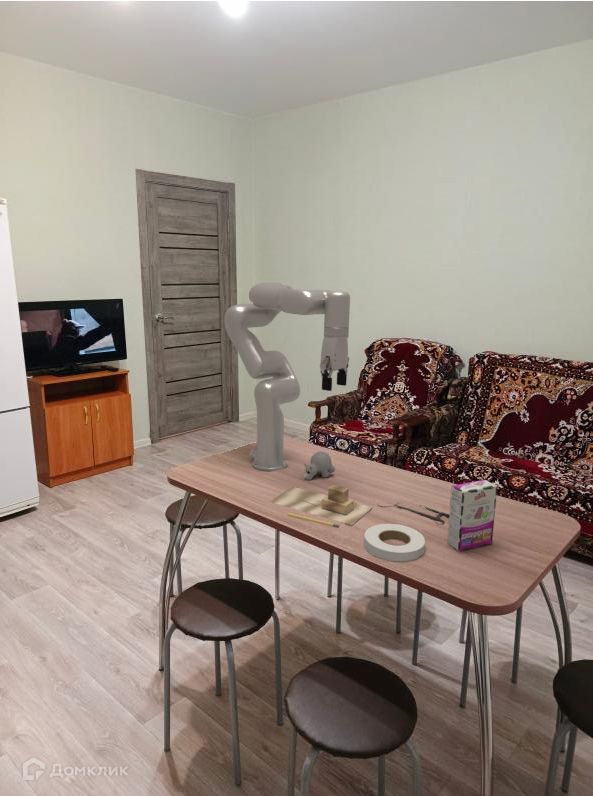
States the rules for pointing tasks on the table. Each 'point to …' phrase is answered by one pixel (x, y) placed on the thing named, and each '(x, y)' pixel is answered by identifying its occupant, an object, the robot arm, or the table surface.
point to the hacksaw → (424, 514)
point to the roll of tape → (394, 552)
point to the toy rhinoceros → (319, 466)
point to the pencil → (313, 520)
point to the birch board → (317, 505)
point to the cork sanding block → (338, 500)
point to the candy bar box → (472, 515)
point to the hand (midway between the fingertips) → (334, 387)
